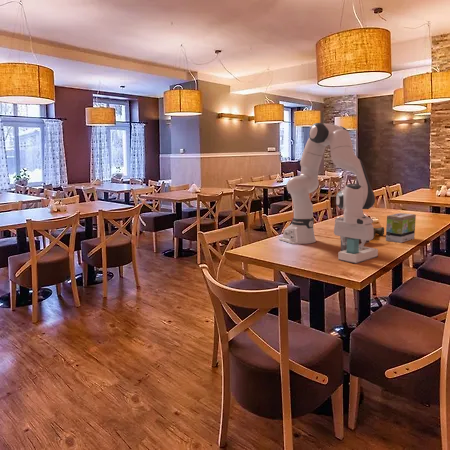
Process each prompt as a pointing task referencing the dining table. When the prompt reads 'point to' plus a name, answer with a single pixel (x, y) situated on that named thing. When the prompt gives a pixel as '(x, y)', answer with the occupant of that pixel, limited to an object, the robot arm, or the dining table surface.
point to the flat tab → (343, 245)
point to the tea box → (400, 227)
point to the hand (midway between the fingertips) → (352, 246)
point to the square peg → (352, 245)
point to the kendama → (379, 231)
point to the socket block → (358, 255)
